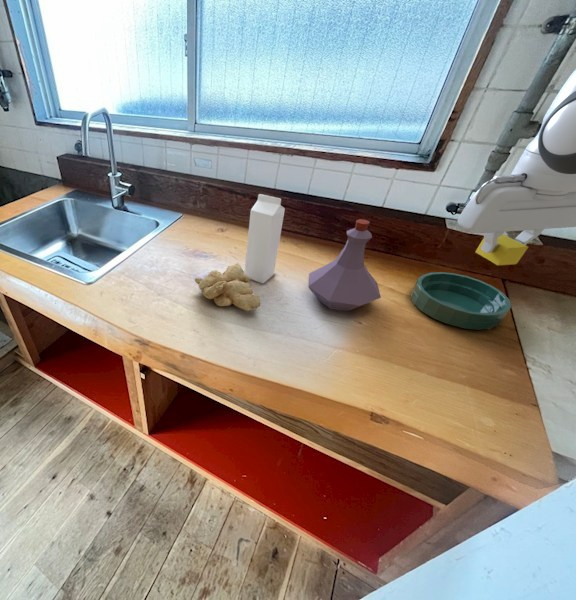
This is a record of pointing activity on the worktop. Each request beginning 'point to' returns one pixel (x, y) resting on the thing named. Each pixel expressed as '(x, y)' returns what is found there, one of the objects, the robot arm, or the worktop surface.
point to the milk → (263, 238)
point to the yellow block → (504, 251)
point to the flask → (346, 274)
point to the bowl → (460, 300)
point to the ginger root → (229, 288)
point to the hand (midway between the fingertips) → (500, 250)
